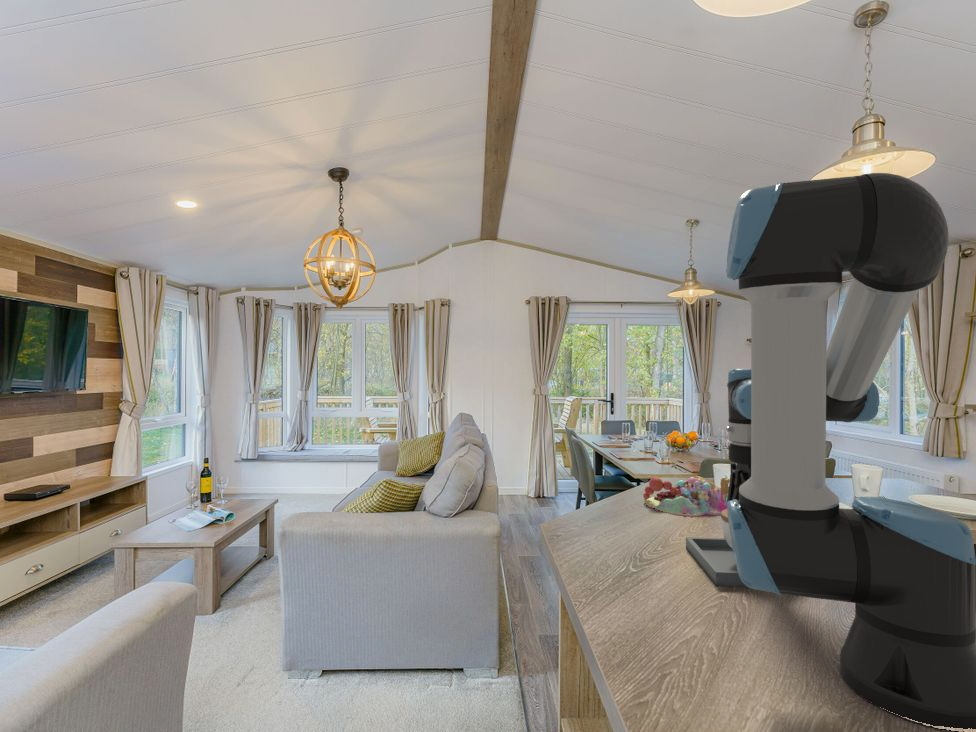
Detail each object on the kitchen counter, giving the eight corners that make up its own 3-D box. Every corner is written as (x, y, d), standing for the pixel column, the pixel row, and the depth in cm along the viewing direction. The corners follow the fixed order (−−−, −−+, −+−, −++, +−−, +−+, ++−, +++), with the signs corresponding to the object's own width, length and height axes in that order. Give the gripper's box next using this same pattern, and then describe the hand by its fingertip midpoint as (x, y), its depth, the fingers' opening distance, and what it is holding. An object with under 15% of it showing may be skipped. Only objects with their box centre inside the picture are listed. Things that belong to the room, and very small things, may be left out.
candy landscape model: (678, 492, 167) (678, 465, 167) (751, 507, 149) (751, 476, 149) (632, 506, 152) (632, 475, 152) (707, 524, 133) (707, 489, 133)
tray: (829, 589, 93) (829, 576, 93) (715, 585, 95) (715, 572, 95) (778, 550, 113) (778, 539, 113) (685, 548, 115) (685, 537, 115)
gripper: (711, 435, 116) (712, 531, 116) (752, 452, 93) (754, 572, 93) (745, 435, 115) (746, 532, 115) (796, 453, 92) (797, 574, 92)
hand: (749, 550), depth 104 cm, fingers closed on lidded jar, 11 cm apart
